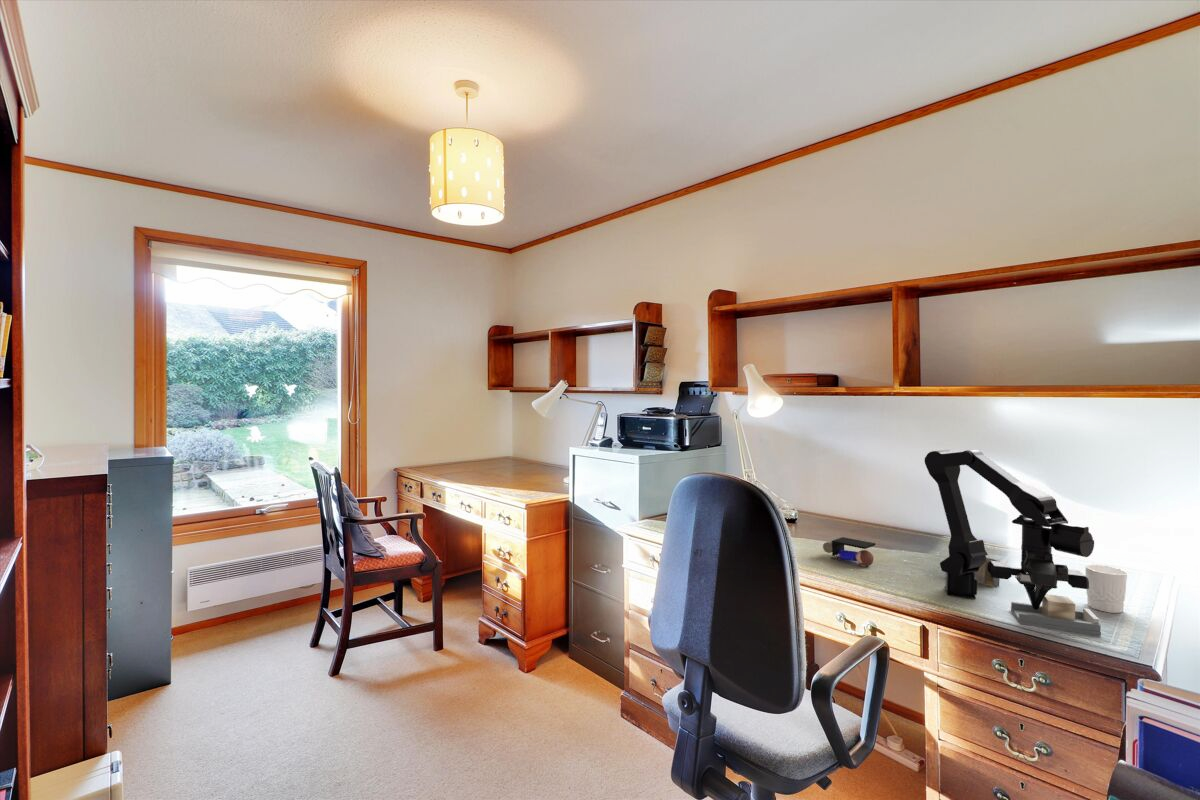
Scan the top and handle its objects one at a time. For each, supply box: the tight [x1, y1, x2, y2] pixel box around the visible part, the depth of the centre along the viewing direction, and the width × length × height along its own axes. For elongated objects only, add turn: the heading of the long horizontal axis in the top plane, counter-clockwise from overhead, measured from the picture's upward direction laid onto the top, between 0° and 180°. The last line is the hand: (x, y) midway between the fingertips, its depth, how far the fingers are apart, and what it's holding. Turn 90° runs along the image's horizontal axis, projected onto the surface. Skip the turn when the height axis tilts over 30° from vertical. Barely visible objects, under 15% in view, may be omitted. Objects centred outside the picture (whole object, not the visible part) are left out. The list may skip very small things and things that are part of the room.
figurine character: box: [822, 536, 876, 567], centre depth 180 cm, size 7×8×15 cm
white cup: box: [1084, 563, 1128, 614], centre depth 142 cm, size 8×8×10 cm
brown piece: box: [973, 556, 1001, 588], centre depth 162 cm, size 11×3×10 cm, turn 26°
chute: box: [1010, 600, 1102, 637], centre depth 134 cm, size 15×9×3 cm, turn 65°
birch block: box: [1041, 593, 1076, 620], centre depth 133 cm, size 5×5×5 cm
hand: (1035, 609), depth 135 cm, fingers closed
